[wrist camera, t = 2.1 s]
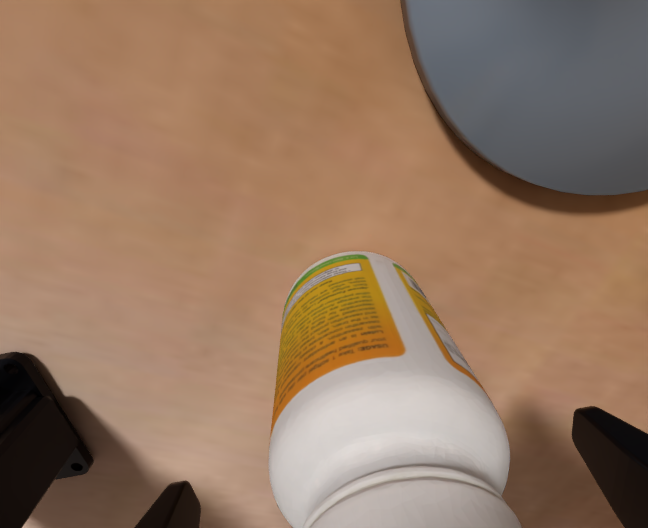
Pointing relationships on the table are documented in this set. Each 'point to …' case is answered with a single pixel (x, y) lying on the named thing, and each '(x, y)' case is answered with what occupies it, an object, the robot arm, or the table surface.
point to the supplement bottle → (380, 409)
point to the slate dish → (541, 86)
